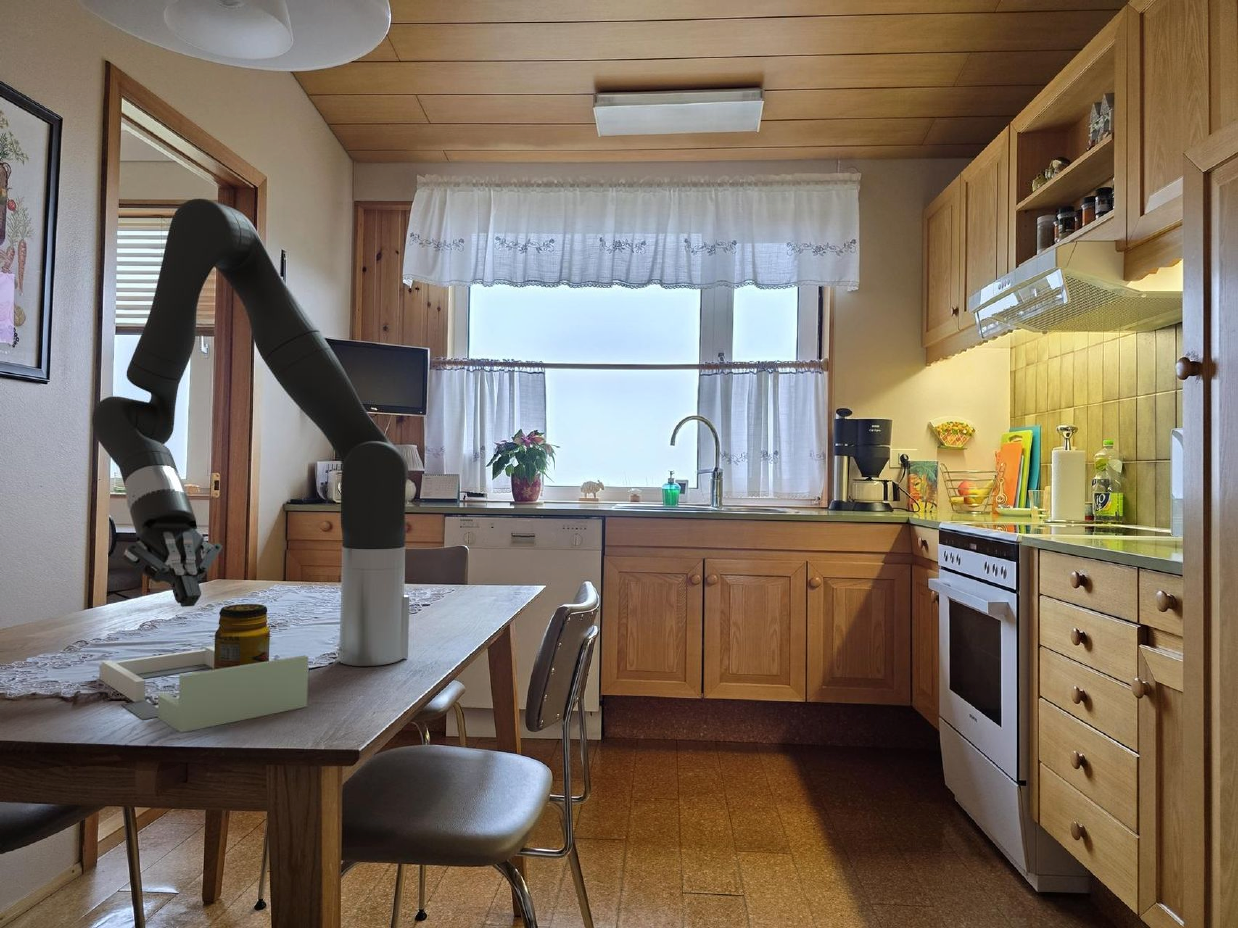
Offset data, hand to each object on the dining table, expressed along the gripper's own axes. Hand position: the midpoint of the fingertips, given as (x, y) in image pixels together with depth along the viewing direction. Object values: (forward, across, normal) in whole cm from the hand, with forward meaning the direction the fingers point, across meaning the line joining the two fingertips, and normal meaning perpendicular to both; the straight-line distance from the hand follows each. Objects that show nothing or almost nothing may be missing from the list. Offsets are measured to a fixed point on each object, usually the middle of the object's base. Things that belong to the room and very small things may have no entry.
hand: (190, 602), depth 105 cm
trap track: (+12, -1, +3) cm, 12 cm away
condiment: (+18, -1, -4) cm, 19 cm away
